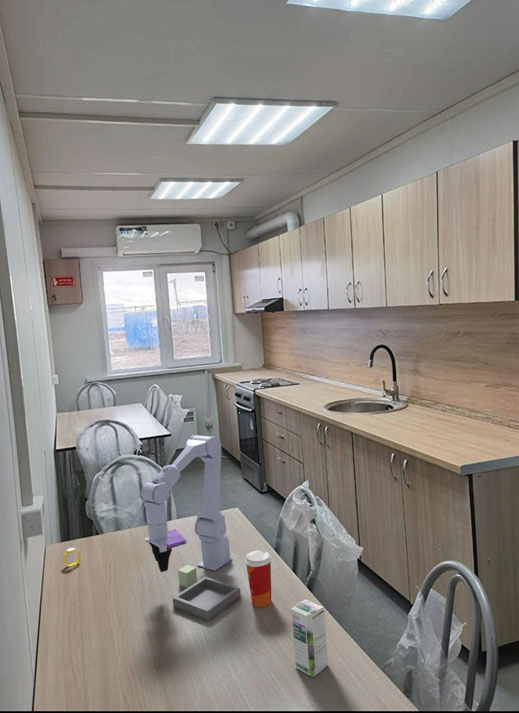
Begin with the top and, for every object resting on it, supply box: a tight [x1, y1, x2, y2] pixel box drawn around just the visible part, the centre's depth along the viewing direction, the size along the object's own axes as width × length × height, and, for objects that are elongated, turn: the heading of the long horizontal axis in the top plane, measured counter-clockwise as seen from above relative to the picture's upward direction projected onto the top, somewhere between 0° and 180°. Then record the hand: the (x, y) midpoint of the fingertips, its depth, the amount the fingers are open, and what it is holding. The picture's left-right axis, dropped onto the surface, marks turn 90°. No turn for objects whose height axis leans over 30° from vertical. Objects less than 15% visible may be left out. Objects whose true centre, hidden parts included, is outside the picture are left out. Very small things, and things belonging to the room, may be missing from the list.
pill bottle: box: [244, 550, 272, 609], centre depth 151 cm, size 8×8×14 cm
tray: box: [172, 576, 242, 622], centre depth 153 cm, size 14×14×3 cm
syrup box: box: [290, 599, 329, 678], centre depth 122 cm, size 6×6×14 cm
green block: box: [177, 564, 198, 589], centre depth 165 cm, size 4×4×5 cm
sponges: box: [166, 528, 187, 548], centre depth 200 cm, size 7×13×2 cm, turn 28°
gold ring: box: [62, 547, 82, 568], centre depth 185 cm, size 6×3×6 cm, turn 131°
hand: (161, 565), depth 159 cm, fingers open, 7 cm apart
